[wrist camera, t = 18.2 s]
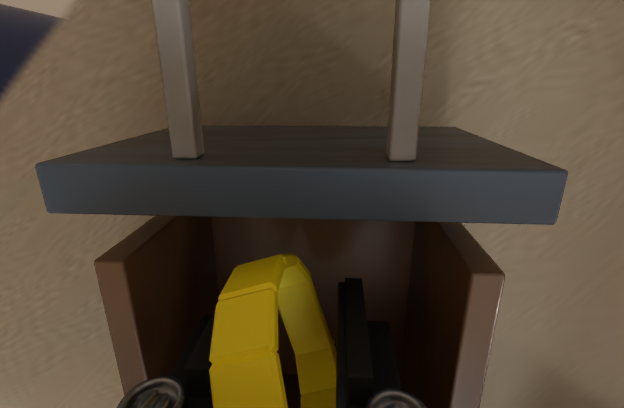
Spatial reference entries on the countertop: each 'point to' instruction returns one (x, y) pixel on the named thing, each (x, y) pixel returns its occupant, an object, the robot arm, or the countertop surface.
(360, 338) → the robot arm
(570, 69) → the countertop surface
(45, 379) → the countertop surface
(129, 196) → the drawer
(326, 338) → the watch
